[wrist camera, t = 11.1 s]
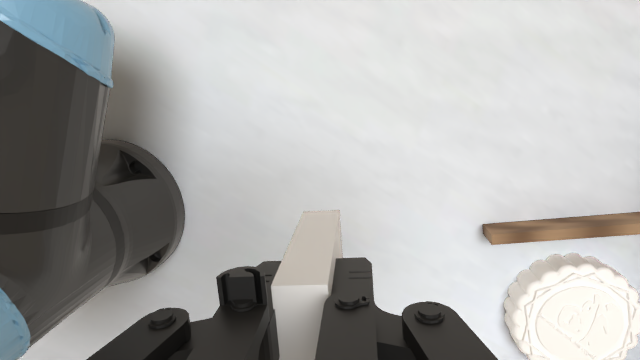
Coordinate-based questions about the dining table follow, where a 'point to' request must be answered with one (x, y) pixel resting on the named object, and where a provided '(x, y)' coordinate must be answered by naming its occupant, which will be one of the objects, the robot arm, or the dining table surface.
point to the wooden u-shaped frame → (563, 228)
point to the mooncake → (572, 310)
